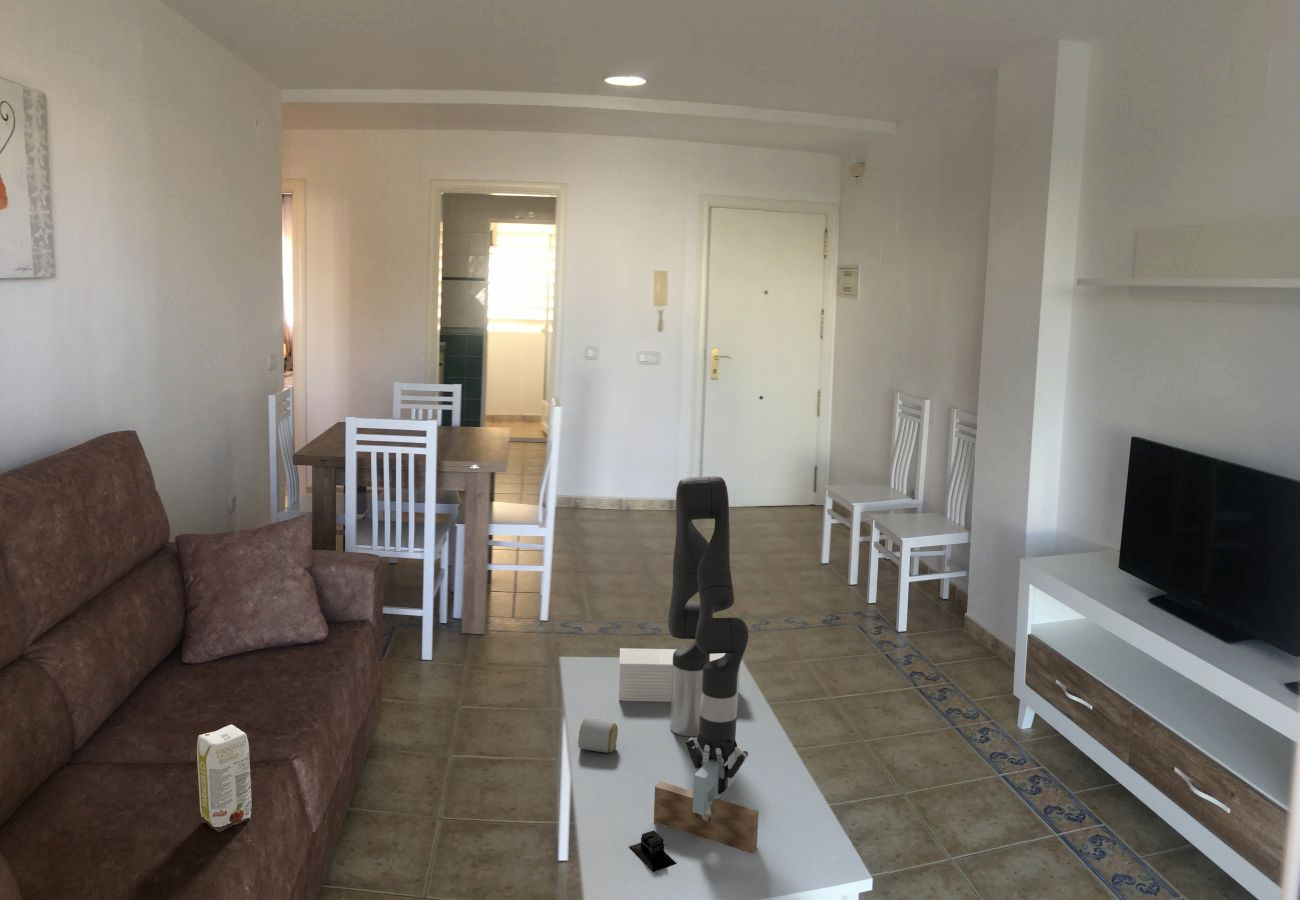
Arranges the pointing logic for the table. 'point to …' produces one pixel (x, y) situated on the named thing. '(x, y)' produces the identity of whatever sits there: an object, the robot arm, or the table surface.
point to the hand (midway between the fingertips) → (714, 790)
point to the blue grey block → (708, 784)
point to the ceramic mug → (597, 735)
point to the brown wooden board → (706, 818)
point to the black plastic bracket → (652, 851)
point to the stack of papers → (649, 674)
